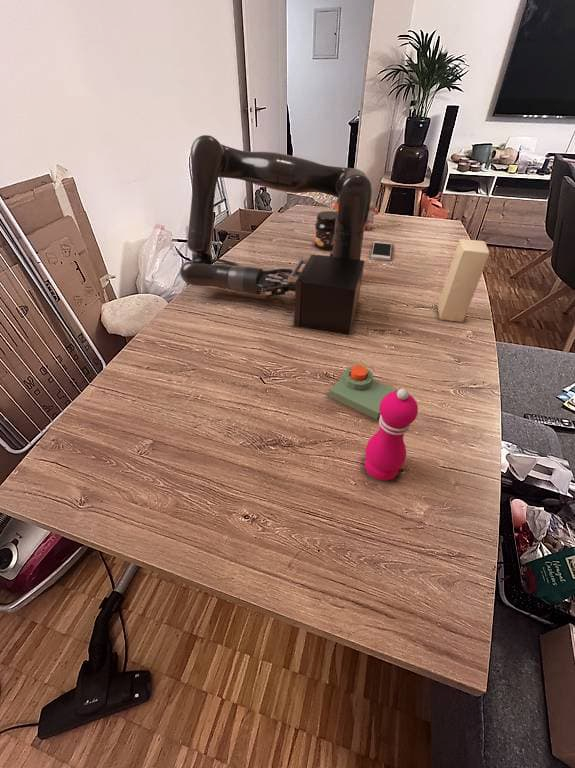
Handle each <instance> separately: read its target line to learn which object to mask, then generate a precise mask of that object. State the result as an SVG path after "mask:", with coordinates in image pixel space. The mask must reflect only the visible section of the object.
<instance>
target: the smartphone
mask: <svg viewBox="0 0 575 768" xmlns="http://www.w3.org/2000/svg"><path fill="white" fill-rule="evenodd" d="M392 247H393V243H392V242H387V241H376V240H375V241H373V245H372V249H371V254H370V259H373V260H381V261H391V256H392V249H393V248H392Z"/></svg>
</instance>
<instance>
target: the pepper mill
mask: <svg viewBox="0 0 575 768" xmlns="http://www.w3.org/2000/svg"><path fill="white" fill-rule="evenodd" d="M379 410H380V414H381V415H380V417H379V418H378V424H379V426H380V427H379V429H378V430H377V432H376V433H374V434H373V435H372V436H371V437H370V438H369V440H368V441H367V444H366V445H365V450H364V451H365V462H364V467H365V470H366V472H367V473H368V474H369V475H370V476H371V477H372V478H373V479H376V480H378V481H391V480H393V479H395V477H397V475H398V473H399V470H400V468H401V467H403V466H404V464H405V462H406V458H407V447H406V444H405V441H404V436H405V434H406V433H407V432H409V430H410V427H411V424H412V423H413V422H414V421H416V418H417V417H418V413H419V407H418V403H417V400H416V399H415V398H414V397H413V396H412V395H411V394H410V393H409V391H408V390H407V389H406V388H400V389H398V390H396V391H394V392H390V393H388V394H387V395H385V396H384V397H383V399H382V401H381V403H380V407H379Z"/></svg>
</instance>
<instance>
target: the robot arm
mask: <svg viewBox="0 0 575 768" xmlns="http://www.w3.org/2000/svg"><path fill="white" fill-rule="evenodd" d="M190 162H191V163H190V164H191V202H190V211H189V220H188V231H187V239H186V240H187V241H186V246H187V249H188V250H189V251H190V252H191V260H188V261H185V262H184V263H183V264H181V267H180V268H179V269H180V270H179V275H180V277H181V279H182V281H184V283H186V284H187V285H191V286H196V287H214V288H219V289H225V290H231V291H235V292H239V293H245V294H251V295H261V294H262V293H264V296H265V298H271V297H272V298H273V297H277V296H283V295H285V294H286V293H288V292H295V287H296V282H288V278H289V276H290V275H287V274H286V272H288V273H290V274H291V273H292V271H293V270H294V269H290V268H277V269H271V270H263V268H259V267H252V266H245V265H239V264H238V263H236V262H233V261H230V260H226V259H222V258H212V243H213V234H214V223H215V222H214V220H215V218H214V217H215V216H214V215H215V196H216V188H217V184H218V180H219V178H223V179H224V178H225V179H233V180H240V181H244V182H248V183H251V184H253V185H256V186H259V187H264V188H267V189H271V190H275V191H278V192H279V191H280V192H285V193H290V194H291V193H292V194H306V193H307V194H308V193H320V194H326V195H329V196H332V197H336V198H337V199H338V198H339V205H338V214H337V218H336V221H335V232H334V243H333V250H331V251H330V252H329V256H331V257H339V258H347V259H355V260H361V257H362V251H363V250H362V249H363V243H364V236H365V230H366V229H365V226H366V225H367V224H366V222H367V219H368V214H369V208H370V202H372V193H373V186H372V182H371V181H370V179H369V177H368V176H367V174H366V173H365V172H364V171H362V170H361V169H358V168H354V167H353V168H352V167H342V166H341V167H340V166H332V165H325V164H321V163H319V162H316V161H313V160H309V159H305V158H301V157H298V156H294V155H289V154H285V153H282V152H281V153H280V152H274V151H247V150H241V149H237V148H234V147H231V146H227V145H224V144H222V143H221V142H220V141H219V140H217V138H215V137H214V136H212V135H209V134H204V135H200V136H198V137H197V138H195V140H193V142H192V144H191V146H190ZM365 224H366V225H365ZM214 262H219V263H217V264H213V263H214ZM284 272H285V273H284ZM301 272H302V271H301ZM301 272H300V271H298V272H297V273H296V275H298V276H299V275H300V273H301ZM274 273H275V274H274Z"/></svg>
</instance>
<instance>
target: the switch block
mask: <svg viewBox="0 0 575 768" xmlns="http://www.w3.org/2000/svg"><path fill="white" fill-rule="evenodd" d="M353 366H354V365H352V366H349V367H347V368H346V369H345V370H344V371H343V376H342V377H340V379H339V380H338V381H337V382H336V383H335V384H334V385H333V386H332V387H331V388H330V389H329V395H328V396H329V397H328V398H330V399H332V400H334V401H336V402H339V403H340V404H342V405H345V406H347V407H349V408H351V409H353V410H355V411H357V412H359V413H361V414H364V415H365V416H368V417H369V418H371V419H374V420H376V421H377V420H379V419H380V415H381V414H380V410H379V407H380V403H381V401H382V399H383V397H384V396H385V395H387V394H388V393H390V392H394V391H397V389H395V388H393V387H391V386H388V385H386V384H384V383H381V382H379V381H376V380H375V379H374V375H373V372H372V371H371V370H370V369H369V368H367V367H365V368H366V369H367V376H366V379H365V380H363V381H356V380H353V379H352V378H351V376H350V374H351V369H352V367H353Z"/></svg>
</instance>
